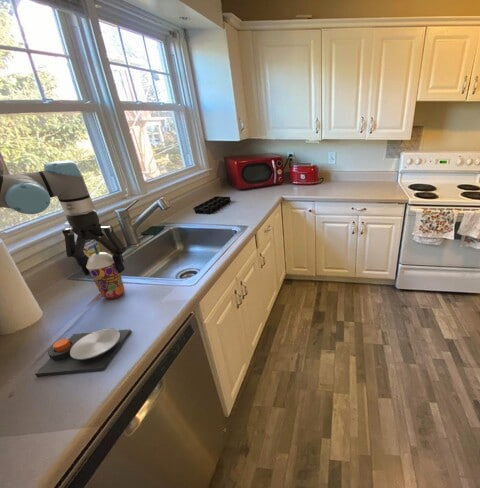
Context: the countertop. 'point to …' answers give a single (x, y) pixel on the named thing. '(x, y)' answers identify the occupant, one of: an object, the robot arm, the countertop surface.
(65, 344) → the tare button
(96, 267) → the smoothie
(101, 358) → the scale
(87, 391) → the countertop surface
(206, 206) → the egg carton
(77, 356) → the platter
